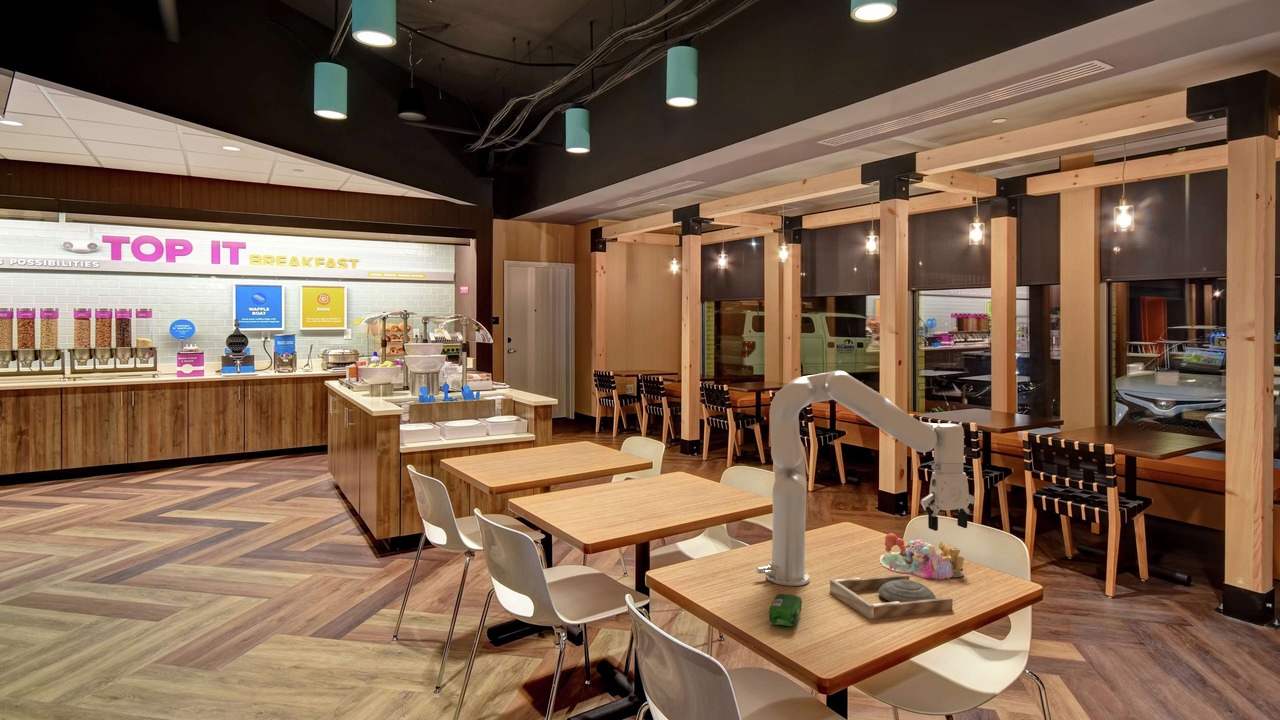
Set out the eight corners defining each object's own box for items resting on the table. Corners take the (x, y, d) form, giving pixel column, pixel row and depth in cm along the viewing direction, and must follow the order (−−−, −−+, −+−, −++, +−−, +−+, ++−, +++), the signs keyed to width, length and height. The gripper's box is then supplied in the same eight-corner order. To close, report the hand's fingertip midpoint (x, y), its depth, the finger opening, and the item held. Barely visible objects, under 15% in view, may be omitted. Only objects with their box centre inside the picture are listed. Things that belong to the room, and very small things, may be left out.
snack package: (765, 630, 173) (766, 609, 172) (776, 606, 187) (777, 587, 187) (794, 635, 170) (795, 614, 170) (803, 611, 185) (804, 591, 185)
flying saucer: (871, 589, 201) (871, 570, 201) (923, 590, 201) (924, 571, 201) (888, 610, 186) (888, 589, 186) (945, 611, 186) (945, 591, 186)
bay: (869, 619, 180) (869, 605, 179) (829, 591, 198) (830, 579, 198) (952, 609, 186) (952, 597, 186) (906, 584, 205) (906, 572, 205)
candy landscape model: (949, 557, 231) (950, 529, 231) (977, 582, 208) (977, 552, 207) (872, 554, 234) (872, 527, 233) (890, 579, 210) (891, 548, 210)
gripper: (931, 472, 190) (930, 534, 191) (984, 468, 195) (983, 529, 195) (913, 467, 197) (912, 527, 198) (965, 463, 202) (964, 522, 202)
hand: (947, 528), depth 197 cm, fingers open, 9 cm apart
